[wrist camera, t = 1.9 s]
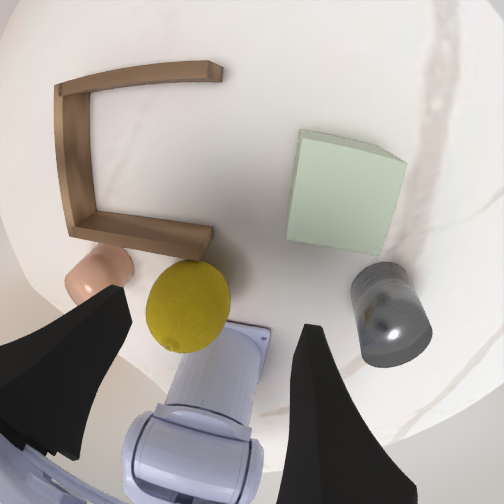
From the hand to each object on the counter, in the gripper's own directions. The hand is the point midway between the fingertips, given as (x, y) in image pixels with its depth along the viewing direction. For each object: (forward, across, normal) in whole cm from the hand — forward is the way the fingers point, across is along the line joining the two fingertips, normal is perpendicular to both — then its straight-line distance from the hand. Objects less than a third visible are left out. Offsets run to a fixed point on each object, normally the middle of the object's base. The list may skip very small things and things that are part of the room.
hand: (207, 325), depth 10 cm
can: (+10, -11, +4) cm, 15 cm away
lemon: (+10, +3, +5) cm, 12 cm away
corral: (+10, +8, -4) cm, 13 cm away
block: (+10, -5, -4) cm, 12 cm away
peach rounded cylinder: (+10, +12, +6) cm, 17 cm away
